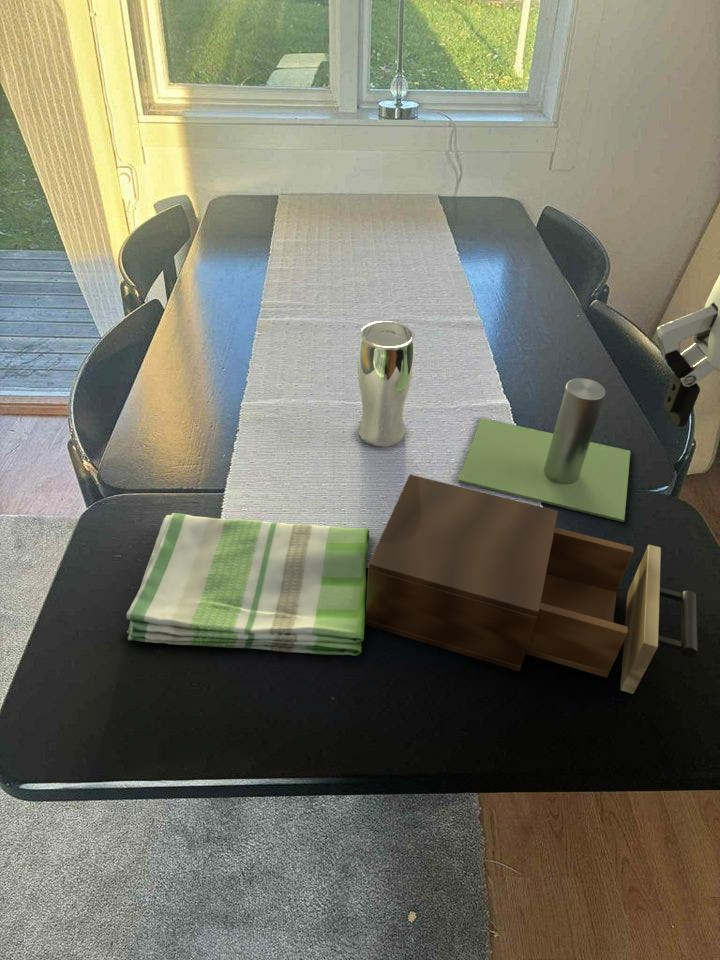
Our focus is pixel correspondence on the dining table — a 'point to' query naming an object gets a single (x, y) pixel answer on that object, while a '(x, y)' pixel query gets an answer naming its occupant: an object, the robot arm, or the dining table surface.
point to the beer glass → (384, 380)
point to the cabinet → (461, 571)
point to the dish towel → (253, 586)
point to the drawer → (605, 609)
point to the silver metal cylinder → (573, 430)
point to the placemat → (520, 470)
